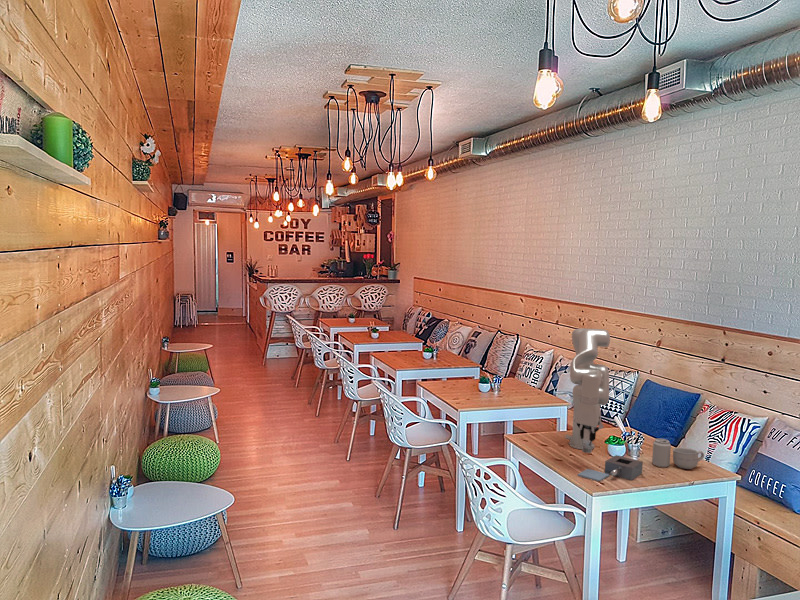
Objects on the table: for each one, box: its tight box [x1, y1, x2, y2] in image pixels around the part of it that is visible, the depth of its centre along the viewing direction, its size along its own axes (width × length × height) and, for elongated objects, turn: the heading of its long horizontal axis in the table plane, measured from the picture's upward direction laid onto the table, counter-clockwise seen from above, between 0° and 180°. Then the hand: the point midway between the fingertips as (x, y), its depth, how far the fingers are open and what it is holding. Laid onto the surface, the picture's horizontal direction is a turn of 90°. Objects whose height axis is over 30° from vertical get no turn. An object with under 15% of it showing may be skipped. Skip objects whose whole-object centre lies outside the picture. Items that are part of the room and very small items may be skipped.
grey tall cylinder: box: [581, 425, 593, 454], centre depth 275 cm, size 4×4×14 cm
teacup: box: [672, 447, 705, 470], centre depth 280 cm, size 14×11×8 cm
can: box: [651, 438, 672, 468], centre depth 281 cm, size 8×8×12 cm
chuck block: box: [604, 454, 643, 481], centre depth 266 cm, size 12×18×6 cm, turn 138°
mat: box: [577, 468, 610, 482], centre depth 264 cm, size 10×10×1 cm
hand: (587, 438), depth 275 cm, fingers closed on grey tall cylinder, 4 cm apart
